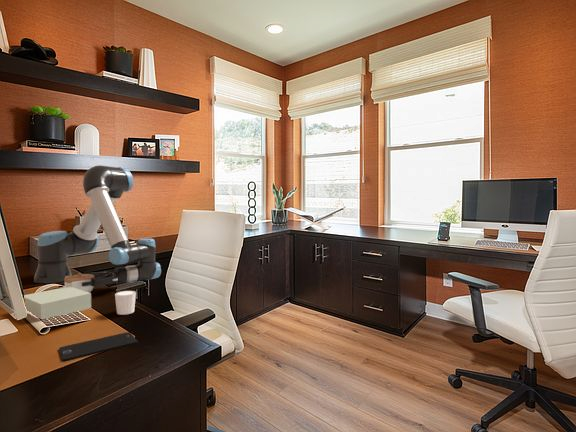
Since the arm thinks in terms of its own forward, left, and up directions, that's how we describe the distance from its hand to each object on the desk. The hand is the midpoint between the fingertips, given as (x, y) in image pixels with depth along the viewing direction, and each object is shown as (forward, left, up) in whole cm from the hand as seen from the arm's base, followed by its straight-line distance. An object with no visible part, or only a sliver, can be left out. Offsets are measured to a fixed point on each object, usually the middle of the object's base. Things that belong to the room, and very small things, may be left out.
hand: (68, 282), depth 137 cm
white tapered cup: (+33, +11, -6) cm, 35 cm away
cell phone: (+57, -4, -7) cm, 57 cm away
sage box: (+14, -7, -6) cm, 17 cm away
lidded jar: (0, +4, -6) cm, 7 cm away
